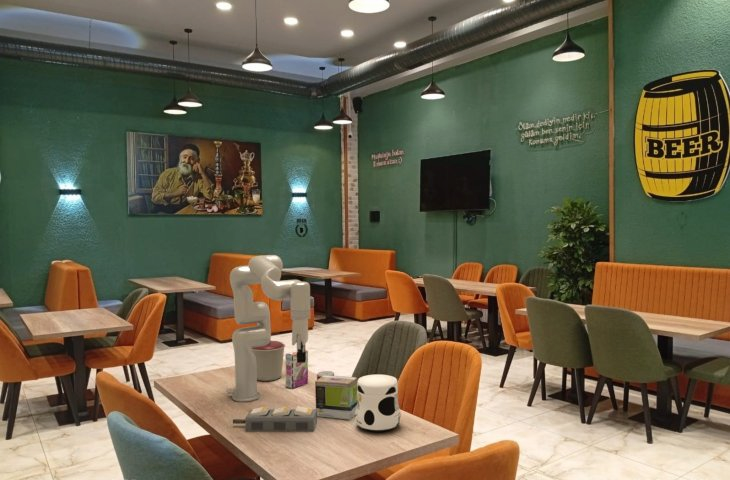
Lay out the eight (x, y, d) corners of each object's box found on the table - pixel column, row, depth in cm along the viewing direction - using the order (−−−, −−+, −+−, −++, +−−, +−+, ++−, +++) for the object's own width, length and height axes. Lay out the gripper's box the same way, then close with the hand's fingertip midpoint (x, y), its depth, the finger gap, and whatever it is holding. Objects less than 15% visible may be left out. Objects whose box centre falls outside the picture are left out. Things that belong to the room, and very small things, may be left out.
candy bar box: (293, 389, 254) (292, 354, 254) (285, 387, 257) (284, 353, 256) (308, 383, 263) (308, 350, 263) (301, 381, 266) (300, 348, 266)
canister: (292, 375, 277) (292, 334, 277) (272, 385, 261) (272, 342, 260) (263, 371, 285) (262, 332, 284) (242, 381, 268) (241, 339, 268)
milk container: (349, 422, 211) (348, 376, 211) (389, 415, 218) (388, 371, 217) (365, 438, 195) (364, 389, 195) (408, 430, 202) (407, 383, 201)
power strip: (229, 431, 204) (229, 417, 204) (236, 422, 213) (236, 409, 213) (313, 431, 202) (313, 417, 202) (317, 422, 211) (316, 409, 211)
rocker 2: (273, 417, 205) (272, 413, 205) (275, 413, 210) (274, 408, 210) (288, 414, 205) (287, 410, 205) (290, 409, 210) (289, 405, 210)
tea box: (358, 412, 222) (358, 376, 222) (349, 420, 213) (349, 383, 212) (325, 408, 227) (324, 373, 227) (315, 416, 218) (314, 380, 217)
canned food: (335, 394, 245) (335, 370, 245) (333, 400, 237) (332, 375, 237) (319, 394, 246) (318, 370, 245) (315, 400, 238) (315, 375, 237)
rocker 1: (251, 417, 205) (250, 413, 205) (254, 413, 210) (253, 408, 210) (266, 414, 205) (265, 410, 205) (269, 409, 210) (268, 405, 210)
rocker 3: (294, 414, 205) (295, 410, 204) (296, 409, 210) (297, 405, 209) (309, 417, 204) (310, 413, 204) (311, 413, 209) (312, 408, 209)
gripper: (294, 311, 213) (295, 357, 214) (287, 317, 198) (288, 367, 199) (313, 311, 213) (313, 357, 214) (307, 317, 198) (308, 367, 199)
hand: (301, 361), depth 206 cm, fingers closed
